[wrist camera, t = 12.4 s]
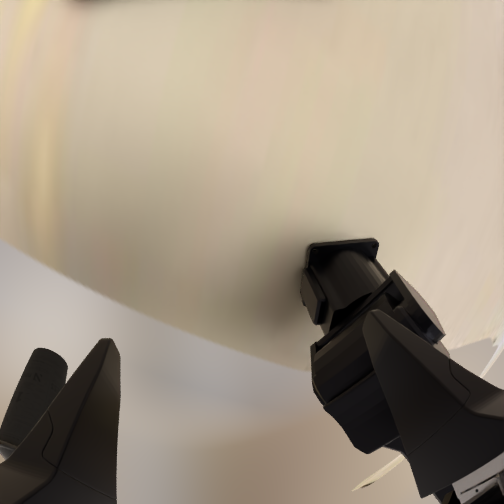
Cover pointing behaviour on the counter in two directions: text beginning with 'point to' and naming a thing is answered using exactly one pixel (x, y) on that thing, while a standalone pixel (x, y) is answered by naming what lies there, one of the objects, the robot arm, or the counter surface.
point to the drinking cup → (32, 397)
